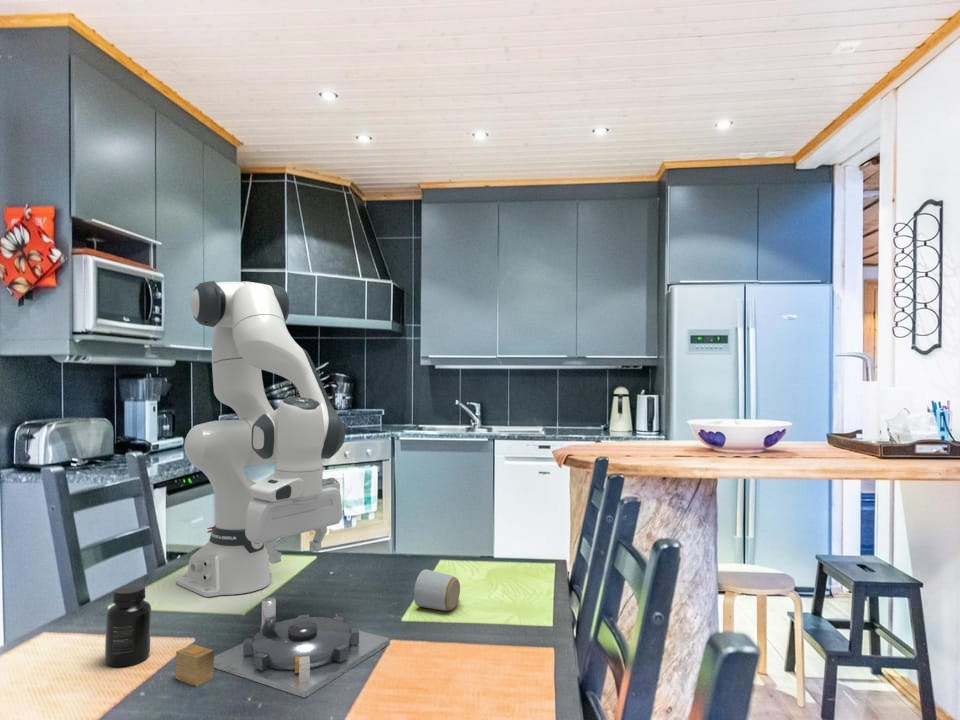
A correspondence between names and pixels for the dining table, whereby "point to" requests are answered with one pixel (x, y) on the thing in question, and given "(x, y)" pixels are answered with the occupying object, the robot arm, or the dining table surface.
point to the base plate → (290, 676)
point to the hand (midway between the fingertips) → (295, 556)
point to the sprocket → (298, 640)
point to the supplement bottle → (128, 627)
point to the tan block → (194, 665)
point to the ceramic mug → (436, 590)
